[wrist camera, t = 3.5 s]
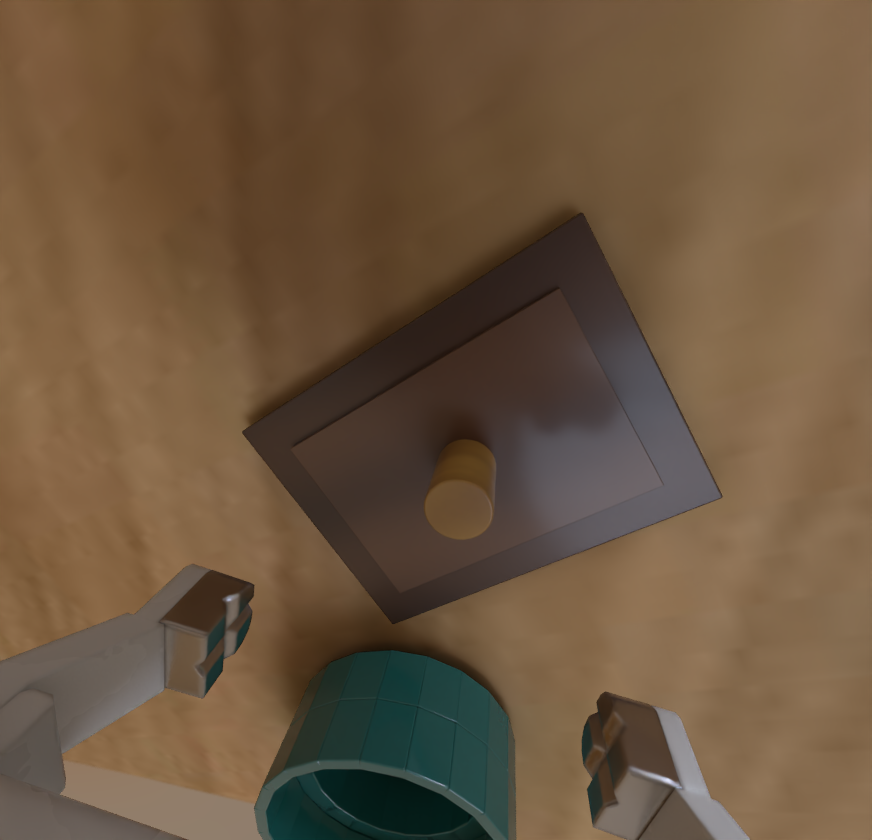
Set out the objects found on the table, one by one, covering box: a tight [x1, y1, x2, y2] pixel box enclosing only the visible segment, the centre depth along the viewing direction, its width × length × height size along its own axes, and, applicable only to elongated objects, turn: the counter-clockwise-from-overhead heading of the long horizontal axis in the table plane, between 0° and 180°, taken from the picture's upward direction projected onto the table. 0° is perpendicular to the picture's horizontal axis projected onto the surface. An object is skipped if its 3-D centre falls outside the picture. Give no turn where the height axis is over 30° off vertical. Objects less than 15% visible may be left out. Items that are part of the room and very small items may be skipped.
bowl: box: [254, 650, 516, 840], centre depth 23 cm, size 12×12×6 cm
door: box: [242, 213, 722, 624], centre depth 17 cm, size 12×16×4 cm
